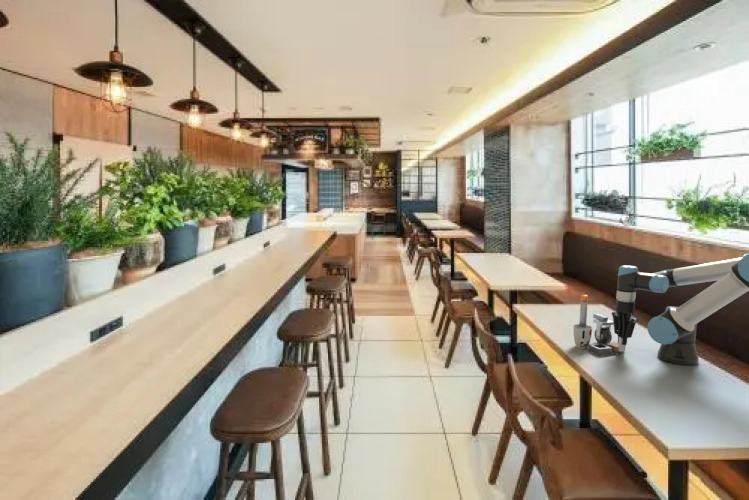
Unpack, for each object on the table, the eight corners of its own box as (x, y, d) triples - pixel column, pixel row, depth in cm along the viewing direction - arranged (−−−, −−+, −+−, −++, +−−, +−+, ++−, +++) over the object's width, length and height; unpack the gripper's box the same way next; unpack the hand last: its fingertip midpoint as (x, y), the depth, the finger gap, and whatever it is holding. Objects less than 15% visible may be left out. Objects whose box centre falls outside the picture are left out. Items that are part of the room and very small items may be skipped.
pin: (587, 327, 221) (589, 295, 219) (582, 327, 220) (583, 296, 219) (583, 325, 224) (584, 294, 222) (577, 325, 223) (579, 294, 221)
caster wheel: (614, 345, 225) (616, 318, 224) (602, 347, 224) (604, 319, 222) (599, 339, 235) (601, 313, 233) (587, 340, 233) (589, 314, 231)
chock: (624, 352, 217) (624, 344, 217) (616, 354, 214) (617, 346, 213) (613, 348, 221) (614, 341, 221) (606, 351, 218) (606, 343, 218)
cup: (580, 350, 219) (581, 329, 217) (568, 345, 226) (569, 324, 225) (594, 349, 221) (596, 328, 219) (582, 343, 228) (584, 323, 227)
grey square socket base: (611, 354, 214) (612, 347, 213) (598, 355, 212) (599, 349, 211) (600, 349, 220) (601, 343, 220) (587, 350, 219) (588, 344, 218)
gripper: (644, 303, 205) (639, 355, 208) (621, 296, 218) (617, 345, 221) (630, 304, 203) (625, 356, 206) (607, 297, 216) (604, 346, 219)
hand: (621, 350), depth 214 cm, fingers closed
